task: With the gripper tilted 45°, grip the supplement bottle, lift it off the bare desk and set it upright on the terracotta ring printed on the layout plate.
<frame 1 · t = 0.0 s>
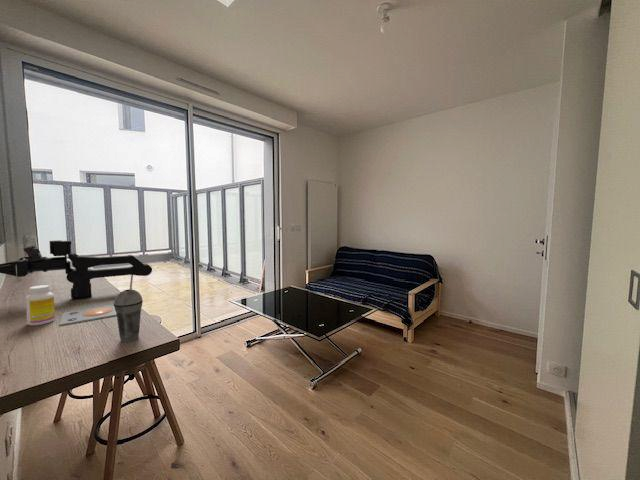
layout plate: (91, 314, 98), on the table
beverage cup: (129, 339, 79), on the table
supplement bottle: (41, 323, 90), on the table
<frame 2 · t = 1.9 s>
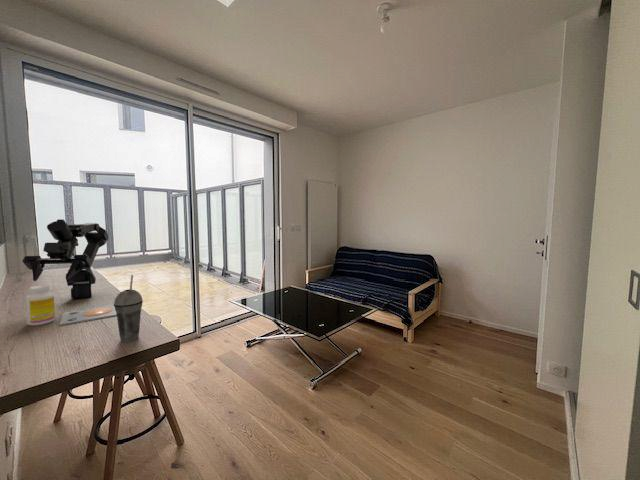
hand: (51, 279, 96), 14 cm above the table, tool tilted 45°, fingers open, 9 cm apart
nothing on the table moved.
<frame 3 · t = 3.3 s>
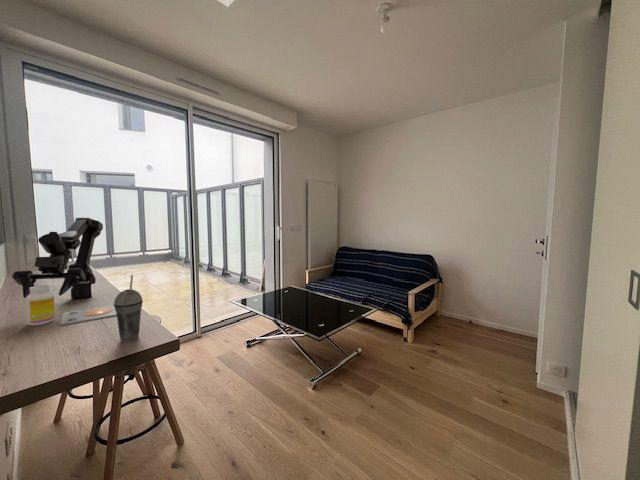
hand: (42, 296, 90), 9 cm above the table, tool tilted 45°, fingers open, 9 cm apart
nothing on the table moved.
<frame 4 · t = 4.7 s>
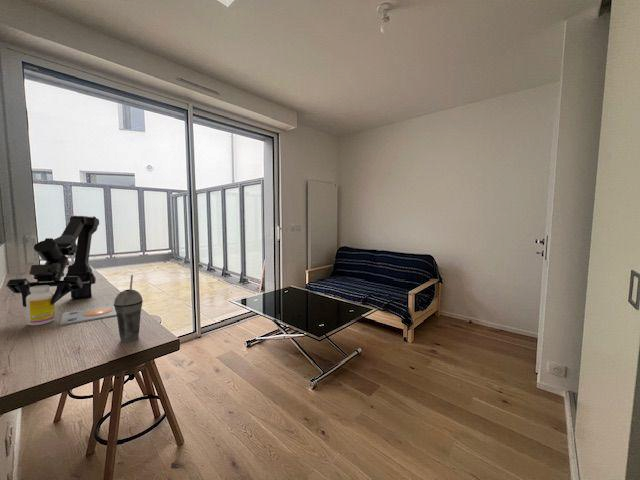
hand: (38, 305, 88), 7 cm above the table, tool tilted 45°, fingers closed on supplement bottle, 7 cm apart
supplement bottle: (41, 322, 90), on the table, touching gripper
everything else where it was.
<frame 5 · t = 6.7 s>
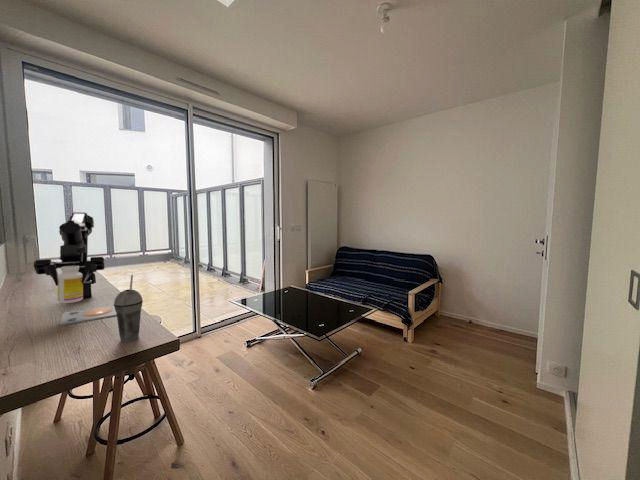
hand: (70, 283, 92), 13 cm above the table, tool tilted 45°, fingers closed on supplement bottle, 7 cm apart
supplement bottle: (70, 301, 93), point 6 cm above the table, touching gripper
everything else where it was.
when the fingers open (8 cm above the table, at t = 8.9 s): supplement bottle stays where it is, resting on layout plate.
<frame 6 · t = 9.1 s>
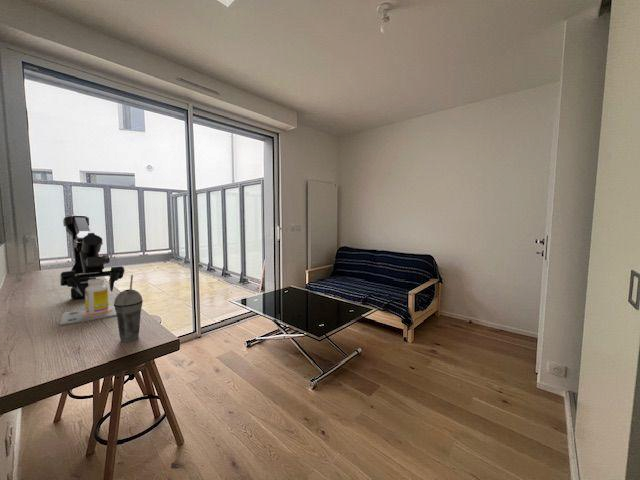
hand: (97, 293, 98), 9 cm above the table, tool tilted 45°, fingers open, 8 cm apart
supplement bottle: (97, 312, 99), point 1 cm above the table, touching layout plate
everything else where it was.
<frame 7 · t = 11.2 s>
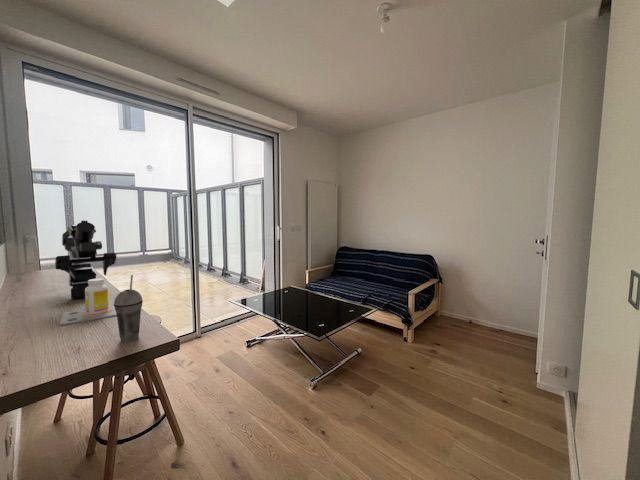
hand: (90, 276, 104), 13 cm above the table, tool tilted 45°, fingers open, 9 cm apart
nothing on the table moved.
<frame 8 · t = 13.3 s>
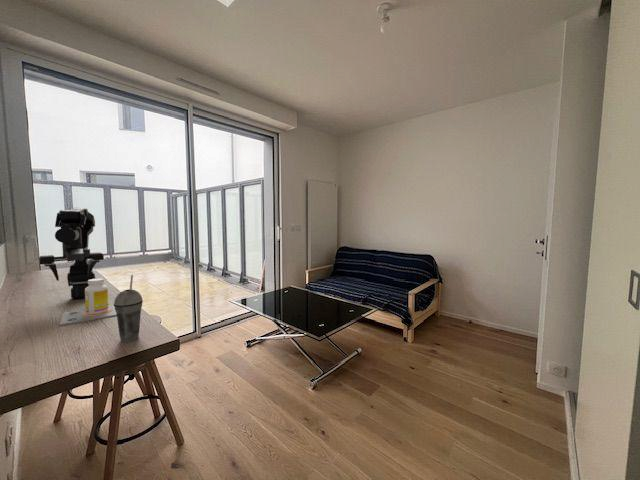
hand: (73, 278, 105), 12 cm above the table, tool pointing down, fingers open, 9 cm apart
nothing on the table moved.
at the end: supplement bottle 0.3 cm from the target spot on the layout plate, point 0.5 cm above the layout plate's base; supplement bottle tilted 0°; the gripper is holding nothing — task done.
